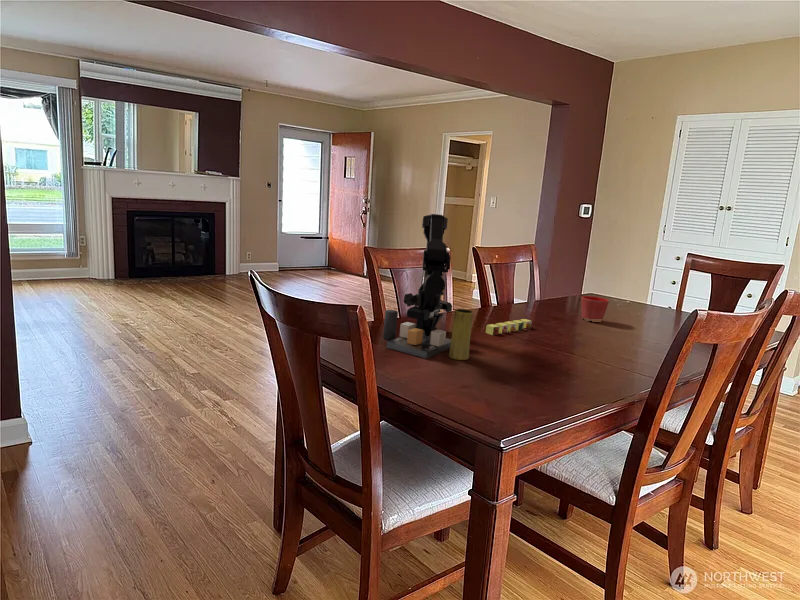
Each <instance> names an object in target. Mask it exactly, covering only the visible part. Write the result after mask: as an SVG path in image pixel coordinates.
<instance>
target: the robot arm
mask: <svg viewBox="0 0 800 600" xmlns="http://www.w3.org/2000/svg"><path fill="white" fill-rule="evenodd" d="M448 219H449V218H447V217H445V215H443V214H438V213H430V214H426V215H423V218H422V222H421V223H422V224H421V228H422V229H423V235H424V239H426V247H425V249H423V254H422V255H423V256H422V271H424V273H423V280H422V281H423V283H422V284H421V285H420V287H419V288H418V290H417V293H416V294H413V293H411V292H410V293H405V294H404V296H403V300H402V301H403V303H404V304H405V305H406V307H407V308H408V309H407V310H406V317H407V318H411V319H414V320H416V323H415V328H417V329H421V330H423V332H424V333H425V335H426V336H430V335H431V331H434V330H435V329H437V325H438V323H439V322H440V320H441V318H442V317H443V316H444V314H443V313H442V314H441V313H440V312H441V310H444V311H445V313H450V312H453V311H452V310H453V305H452V303H451V302H449V301H445V300H442V296H444V295H445V291H444V290H445V288H446V282H445V279H444V273H449V270H450V269H451V255H450V252H448V249H447V246H448V245H447V244H446V243H445V242H443V241H444V240H443V239H444V234H445V231H447V230H448V229H447V228H448V221H449V220H448Z"/></svg>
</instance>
